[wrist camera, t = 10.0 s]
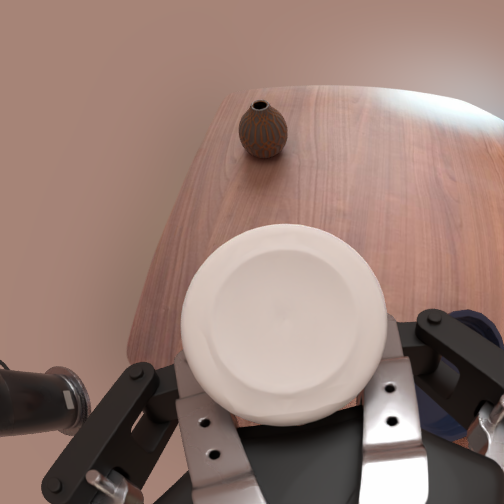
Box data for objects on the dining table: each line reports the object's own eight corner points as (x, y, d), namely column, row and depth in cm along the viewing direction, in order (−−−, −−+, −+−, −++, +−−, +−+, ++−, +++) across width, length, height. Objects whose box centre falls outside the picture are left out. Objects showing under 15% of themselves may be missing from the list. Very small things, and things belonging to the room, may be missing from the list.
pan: (388, 446, 24) (401, 456, 20) (390, 322, 30) (405, 316, 26) (483, 417, 22) (502, 421, 18) (483, 310, 28) (502, 303, 24)
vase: (239, 137, 42) (229, 96, 34) (281, 129, 42) (278, 86, 34) (247, 169, 40) (238, 126, 32) (293, 160, 40) (293, 116, 31)
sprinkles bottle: (325, 322, 18) (401, 236, 6) (311, 388, 17) (369, 445, 4) (259, 309, 19) (208, 202, 7) (243, 374, 17) (151, 394, 5)
